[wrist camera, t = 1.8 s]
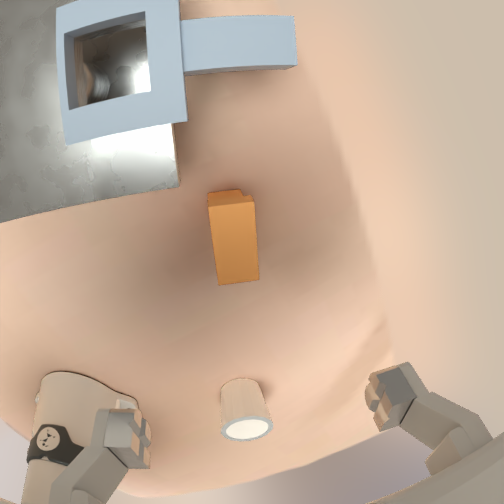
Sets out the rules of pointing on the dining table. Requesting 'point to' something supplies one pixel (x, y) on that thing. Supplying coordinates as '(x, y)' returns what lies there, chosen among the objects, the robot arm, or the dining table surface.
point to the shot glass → (244, 411)
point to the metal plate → (50, 120)
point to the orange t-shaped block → (233, 236)
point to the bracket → (163, 59)
